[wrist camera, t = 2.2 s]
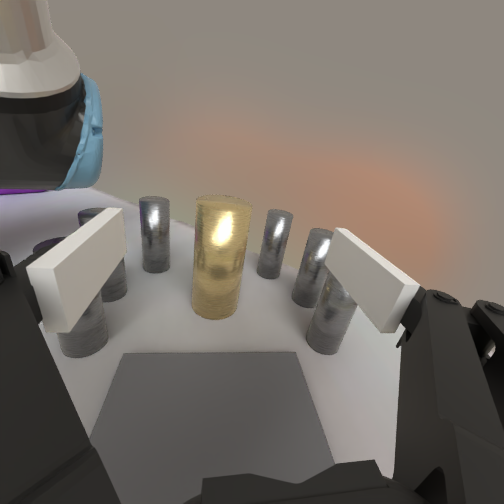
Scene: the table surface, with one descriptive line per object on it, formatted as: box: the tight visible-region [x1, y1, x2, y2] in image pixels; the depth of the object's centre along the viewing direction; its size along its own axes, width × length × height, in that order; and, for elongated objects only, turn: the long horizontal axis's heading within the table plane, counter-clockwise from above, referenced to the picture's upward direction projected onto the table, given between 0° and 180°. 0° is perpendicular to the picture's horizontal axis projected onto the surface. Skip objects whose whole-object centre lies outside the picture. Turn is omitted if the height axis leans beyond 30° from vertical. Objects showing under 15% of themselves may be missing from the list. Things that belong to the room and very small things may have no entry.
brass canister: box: [192, 195, 252, 320], centre depth 27 cm, size 6×6×13 cm
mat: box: [89, 352, 335, 504], centre depth 16 cm, size 16×16×1 cm
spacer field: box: [33, 196, 358, 358], centre depth 29 cm, size 29×18×10 cm, turn 98°
